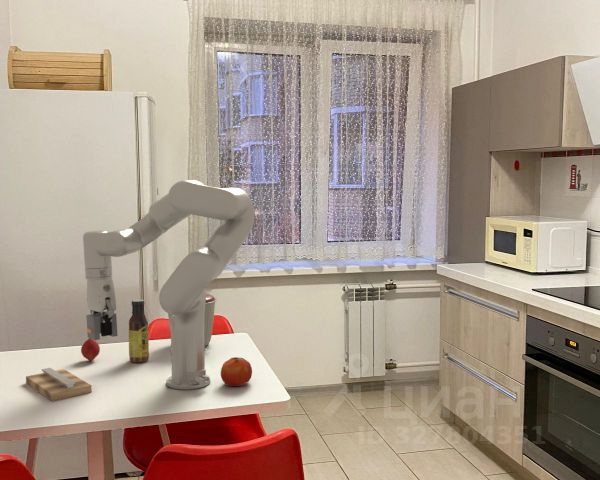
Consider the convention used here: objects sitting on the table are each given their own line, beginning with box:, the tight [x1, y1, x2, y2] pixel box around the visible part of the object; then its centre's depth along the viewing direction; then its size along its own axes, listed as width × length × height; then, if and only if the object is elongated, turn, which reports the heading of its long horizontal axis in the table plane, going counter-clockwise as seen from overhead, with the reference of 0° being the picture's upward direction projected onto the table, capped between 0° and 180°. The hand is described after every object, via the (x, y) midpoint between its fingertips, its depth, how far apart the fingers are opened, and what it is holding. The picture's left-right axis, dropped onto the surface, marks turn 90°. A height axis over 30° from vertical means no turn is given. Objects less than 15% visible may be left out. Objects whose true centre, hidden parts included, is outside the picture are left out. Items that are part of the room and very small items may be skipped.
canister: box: [167, 292, 218, 347], centre depth 229 cm, size 18×18×21 cm
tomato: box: [220, 357, 253, 387], centre depth 188 cm, size 9×9×8 cm
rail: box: [41, 367, 75, 389], centre depth 185 cm, size 18×2×2 cm, turn 41°
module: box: [85, 312, 119, 341], centre depth 192 cm, size 5×8×7 cm, turn 131°
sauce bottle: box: [128, 299, 150, 363], centre depth 210 cm, size 6×6×20 cm
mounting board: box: [25, 368, 92, 402], centre depth 185 cm, size 20×11×2 cm, turn 41°
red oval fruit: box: [80, 338, 101, 362], centre depth 211 cm, size 6×6×8 cm
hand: (102, 333), depth 192 cm, fingers closed on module, 5 cm apart
